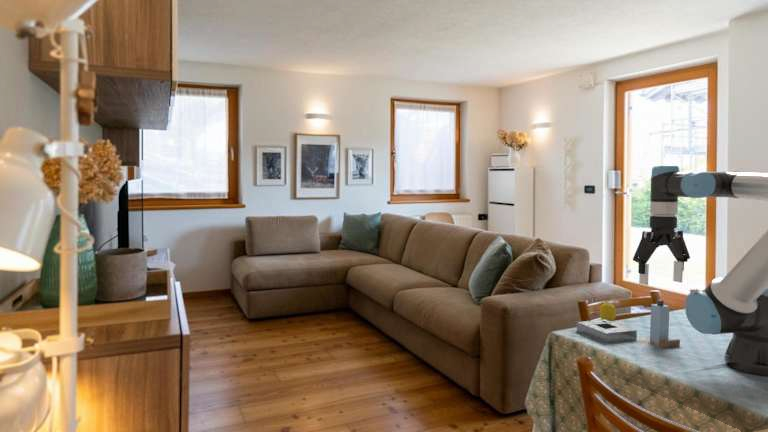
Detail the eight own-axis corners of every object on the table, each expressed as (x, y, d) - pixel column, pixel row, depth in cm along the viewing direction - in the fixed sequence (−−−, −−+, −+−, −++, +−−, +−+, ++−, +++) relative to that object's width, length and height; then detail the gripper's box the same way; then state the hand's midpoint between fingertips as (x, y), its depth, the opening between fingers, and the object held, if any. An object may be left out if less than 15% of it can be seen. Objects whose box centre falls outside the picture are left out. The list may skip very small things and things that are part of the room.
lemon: (612, 321, 191) (613, 300, 190) (617, 325, 185) (618, 304, 185) (597, 321, 191) (597, 300, 191) (602, 325, 186) (602, 303, 185)
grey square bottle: (668, 343, 162) (669, 301, 161) (659, 345, 160) (660, 301, 160) (658, 340, 165) (660, 298, 164) (649, 341, 164) (651, 299, 163)
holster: (679, 349, 160) (679, 339, 159) (661, 351, 157) (662, 341, 157) (656, 340, 168) (656, 331, 168) (638, 342, 166) (639, 333, 166)
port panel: (636, 342, 166) (636, 329, 166) (606, 345, 163) (606, 332, 162) (605, 330, 180) (605, 318, 179) (576, 333, 176) (576, 320, 176)
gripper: (683, 213, 168) (681, 278, 169) (621, 215, 160) (619, 283, 161) (704, 215, 160) (701, 282, 162) (640, 217, 153) (638, 287, 154)
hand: (660, 283), depth 162 cm, fingers open, 13 cm apart
